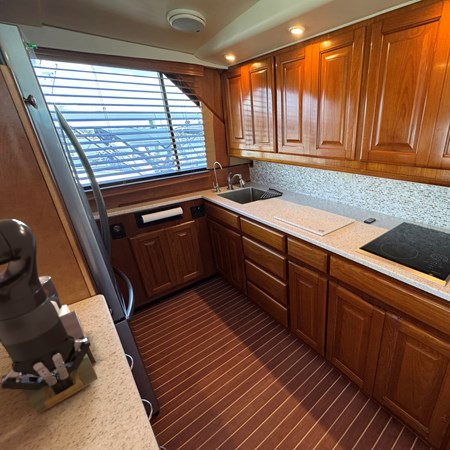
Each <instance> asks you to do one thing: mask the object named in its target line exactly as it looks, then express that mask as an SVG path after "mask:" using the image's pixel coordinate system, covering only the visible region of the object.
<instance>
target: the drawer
mask: <svg viewBox="0 0 450 450" xmlns="http://www.w3.org/2000/svg"><path fill="white" fill-rule="evenodd" d="M74 347H75V346H73V348H72V350H71V352H70V354H69V356H68V358H67V360H66V361H65V364H66V365H67V364H69V362H70V360H71V358H72V356H73V354H74V352H75V348H74ZM52 369H53V370H54V371H55V373H56V375H57V376H58V375H59V374H58V372H57V369H56V367H54V368H52ZM27 375H30V376H40V375H39V374H37V375H34V374H27ZM70 375H71V377H72V379H73V383H74V385H73V386H71V387H69V388H68V389H66V390H64V391H62V392H60V393H59V394H57V395H56V394H55V393H54V391H53V389H52V388H51V386H49V385H47V386H44V387H43V388H42V389H40V390H22V392H23V394H24V395H25V397H26V398H27V400H28V401H29V403H30V405H31V406H32V408H33V410H34V411H35V413H36V414H37V415H39V414H40V413H42V412H43V411H45V410H49V408H51V407H53V406H55V405H56V404H58V403H60V402H62V401H63V400H65V399H67V398H68V397H70V396H72V395H74V394H75V393H77V392H79V391H80V390H82V389H84V388H85V387H86V386H88V385H90V384H91V383H93V382H95V381H97V380H98V379H99V377H98V375H97V372H96V370H95V368H94V366H93V364H91V362H90V360H89V357H88V355H87V354H85V356H84V358H83V360H82V362H81V364H80V366H79V368H78V369H77V370H75V371H72V372H71V373H70Z"/></svg>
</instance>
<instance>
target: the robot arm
mask: <svg viewBox="0 0 450 450" xmlns="http://www.w3.org/2000/svg"><path fill="white" fill-rule="evenodd" d="M37 256H38V246H37V239H36V235H35V233H34V232H33V230H32V229H31V228H30V227H29V225H27V224H25V222H22V221H20V220H17V219H13V218H4V219H0V267H1V266H4V265H6V268H5V269H4V270H3V271H2V272H0V344H1V345H2V347H3V349H4V350H5V351H6V353H7V355H8V356H9V358H10V360H11V361H12V364H11V370H10V372H8V373H6V374H4V375H3V376H2V377H1V380H0V387H1V389H2V390H16V391H17V390H19V391H23V390H40V389H42V388H43V387H44V386H47V385H49V386H51V388H52V389H53V391H54V393H55V394H56V395H57V394H59V393H60V392H62V391H64V390H66V389H68V388H69V387H71V386H73V385H74V383H73V379H72V377H71V375H70V373H71V372H72V371H75V370H77V369H78V368H79V366H80V364H81V362H82V360H83V358H84V356H85V354H86V353H87V351H88V349H89V347H91V342H90V339H89V337H88V336H87V337H84V338H82V339H80V340H74V338H73V337H72V336H70V335H68V333H67V331H66V329H65V327H64V325H63V323H62V321H61V319H60V317H59V314H58V313H57V311H56V309H55V307H54V305H53V304H52V302H51V301H50V300H49V298H48V297H47V295H46V293H45V291H44V289H43V287H42V285H41V282H40V280H39V277H40V276H39V271H38V258H37ZM73 346H75V347H74V348H75V352H74V354H73V356H72V358H71V360H70V362H69V364H67V365H66V364H65V361H66V360H67V358H68V356H69V354H70V352H71V350H72V348H73ZM54 367H56V369H57V372H58V374H59V375H58V376H57V375H56V373H55V371H54V370H53V369H52V368H54ZM22 373H26V374H34V375H37V374H39V375H40V376H30V375H22Z"/></svg>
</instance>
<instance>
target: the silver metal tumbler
mask: <svg viewBox="0 0 450 450" xmlns="http://www.w3.org/2000/svg"><path fill="white" fill-rule="evenodd" d="M38 277H39V280H40V282H41V285H42V287H43V289H44V291H45V293H46V295H47V297H58V298H59V301H60V302H61V300H60V294H59V290H58V288H57V287H56V286H57V285H55V282H54V281H53V279H52V278H51V276H49V275H40V276H38Z"/></svg>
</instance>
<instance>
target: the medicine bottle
mask: <svg viewBox="0 0 450 450" xmlns="http://www.w3.org/2000/svg"><path fill="white" fill-rule="evenodd" d="M48 298H49V300H50V301H51V302H52V304H53V305H54V307H55V309H56V311H57V313H58V314H59V317H60V316H63V315H65V314H68V313H70V312H71V311H70V308H69V306H68V305H67V304H63V305H62V303H61V300H60V301H59V299H60V297H59V298H58V297H48Z"/></svg>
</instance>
